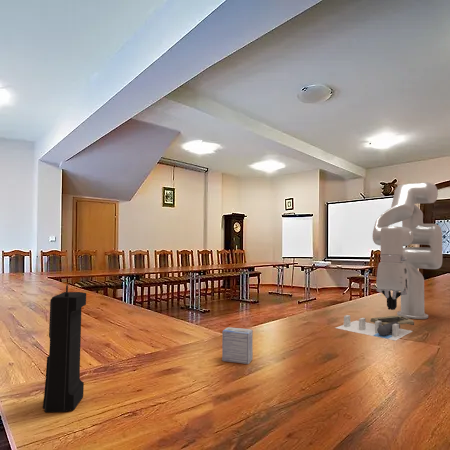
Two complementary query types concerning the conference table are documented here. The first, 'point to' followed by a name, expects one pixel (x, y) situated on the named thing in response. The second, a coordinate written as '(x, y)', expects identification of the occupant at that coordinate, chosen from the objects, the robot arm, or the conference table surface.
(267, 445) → the conference table surface
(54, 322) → the portable radio
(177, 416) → the conference table surface
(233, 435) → the conference table surface
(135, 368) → the conference table surface
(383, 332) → the dark grey rounded peg
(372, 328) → the board
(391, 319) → the computer
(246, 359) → the medicine box
